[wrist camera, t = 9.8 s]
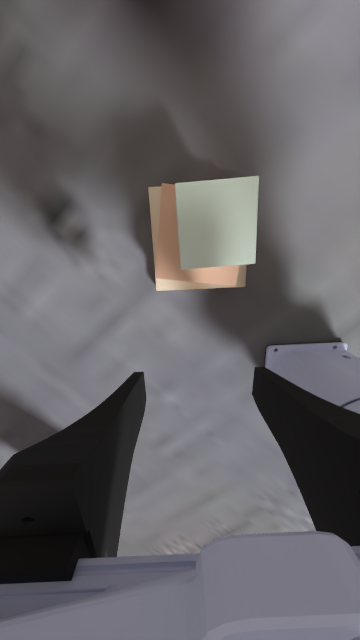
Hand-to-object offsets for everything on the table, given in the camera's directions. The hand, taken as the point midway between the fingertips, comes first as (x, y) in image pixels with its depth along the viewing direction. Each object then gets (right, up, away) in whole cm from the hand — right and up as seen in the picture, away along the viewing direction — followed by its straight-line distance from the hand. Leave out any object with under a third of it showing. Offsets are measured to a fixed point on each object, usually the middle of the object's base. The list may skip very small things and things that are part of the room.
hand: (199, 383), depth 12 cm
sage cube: (+1, +11, +3) cm, 11 cm away
